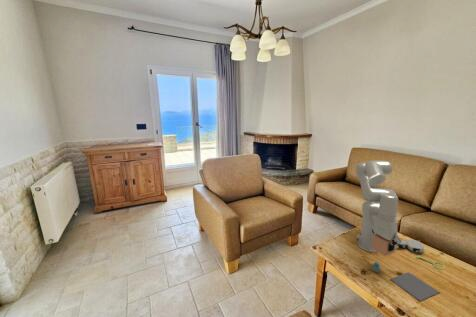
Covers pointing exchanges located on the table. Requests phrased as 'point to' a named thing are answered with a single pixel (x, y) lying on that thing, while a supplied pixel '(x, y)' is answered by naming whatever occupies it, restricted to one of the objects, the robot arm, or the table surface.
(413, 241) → the robot toy
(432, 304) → the table surface
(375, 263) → the teal marble
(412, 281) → the charcoal mat
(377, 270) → the teal marble
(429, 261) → the key
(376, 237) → the brown cube
